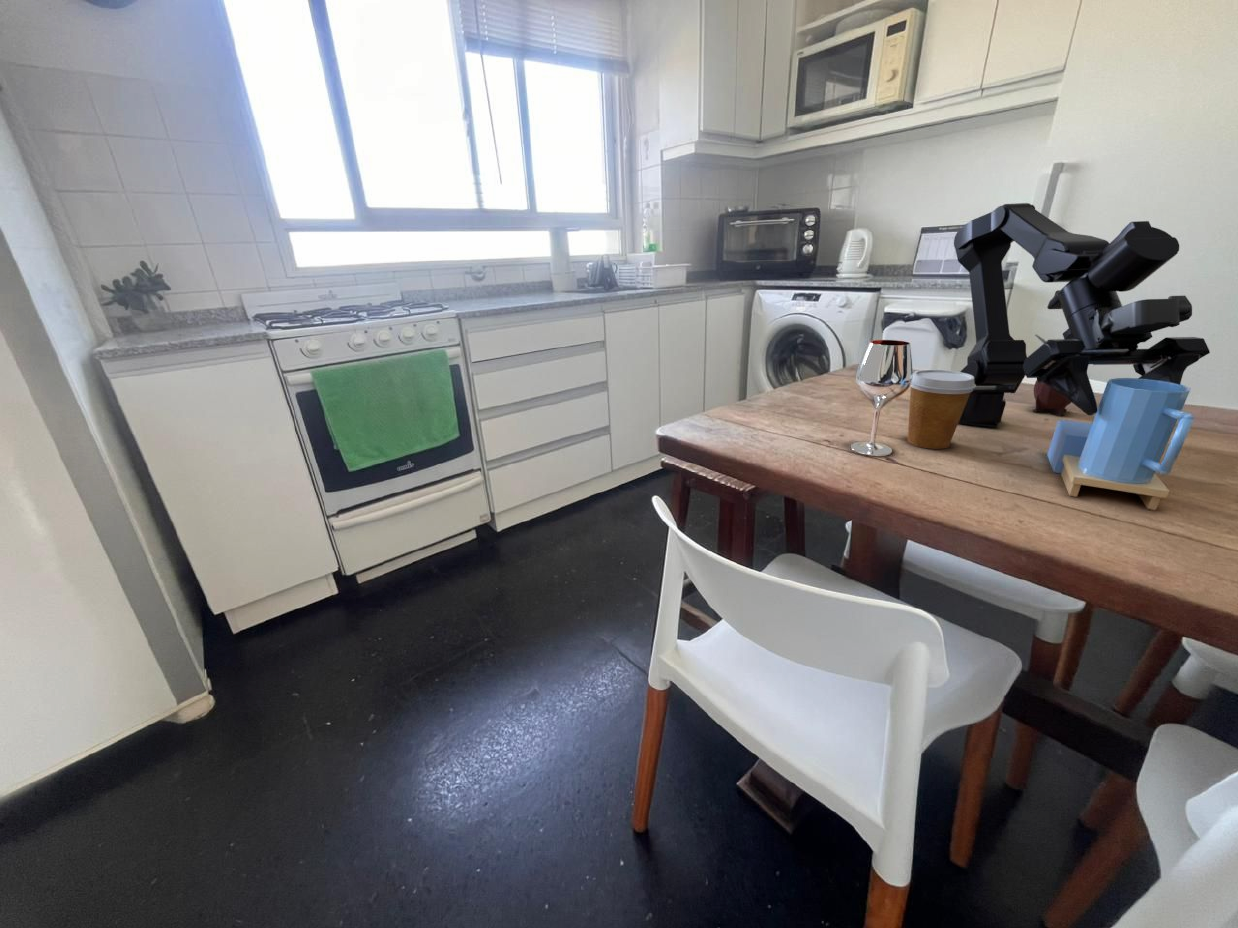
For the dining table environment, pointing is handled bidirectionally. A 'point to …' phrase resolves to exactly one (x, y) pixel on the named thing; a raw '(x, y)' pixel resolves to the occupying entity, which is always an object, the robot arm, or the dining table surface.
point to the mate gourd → (1048, 397)
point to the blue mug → (1136, 430)
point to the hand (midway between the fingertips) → (1132, 413)
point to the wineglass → (882, 383)
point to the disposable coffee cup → (937, 406)
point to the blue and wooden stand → (1066, 461)
